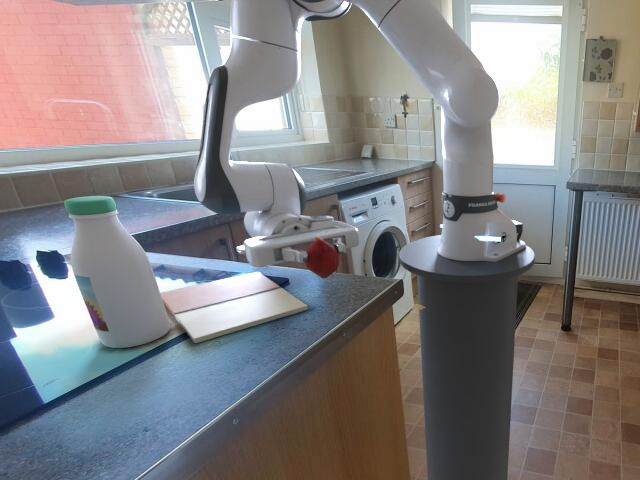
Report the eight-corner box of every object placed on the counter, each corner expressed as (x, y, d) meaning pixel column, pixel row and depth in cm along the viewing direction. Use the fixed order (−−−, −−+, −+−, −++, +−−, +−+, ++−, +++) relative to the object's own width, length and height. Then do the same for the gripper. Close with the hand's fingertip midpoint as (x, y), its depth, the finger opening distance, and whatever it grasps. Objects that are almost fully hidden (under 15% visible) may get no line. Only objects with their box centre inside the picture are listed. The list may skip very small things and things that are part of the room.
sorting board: (259, 275, 83) (258, 270, 82) (308, 309, 69) (307, 305, 69) (159, 297, 71) (157, 292, 71) (194, 343, 58) (193, 338, 58)
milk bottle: (178, 320, 64) (139, 192, 56) (160, 344, 58) (112, 203, 50) (116, 327, 61) (65, 193, 54) (90, 353, 55) (28, 205, 47)
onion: (343, 271, 80) (338, 231, 76) (340, 282, 75) (334, 240, 71) (311, 273, 78) (304, 232, 75) (305, 284, 73) (297, 241, 70)
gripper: (228, 231, 74) (257, 248, 65) (337, 214, 88) (372, 227, 80) (236, 263, 76) (265, 284, 68) (341, 242, 90) (375, 257, 82)
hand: (323, 253), depth 74 cm, fingers closed on onion, 5 cm apart
